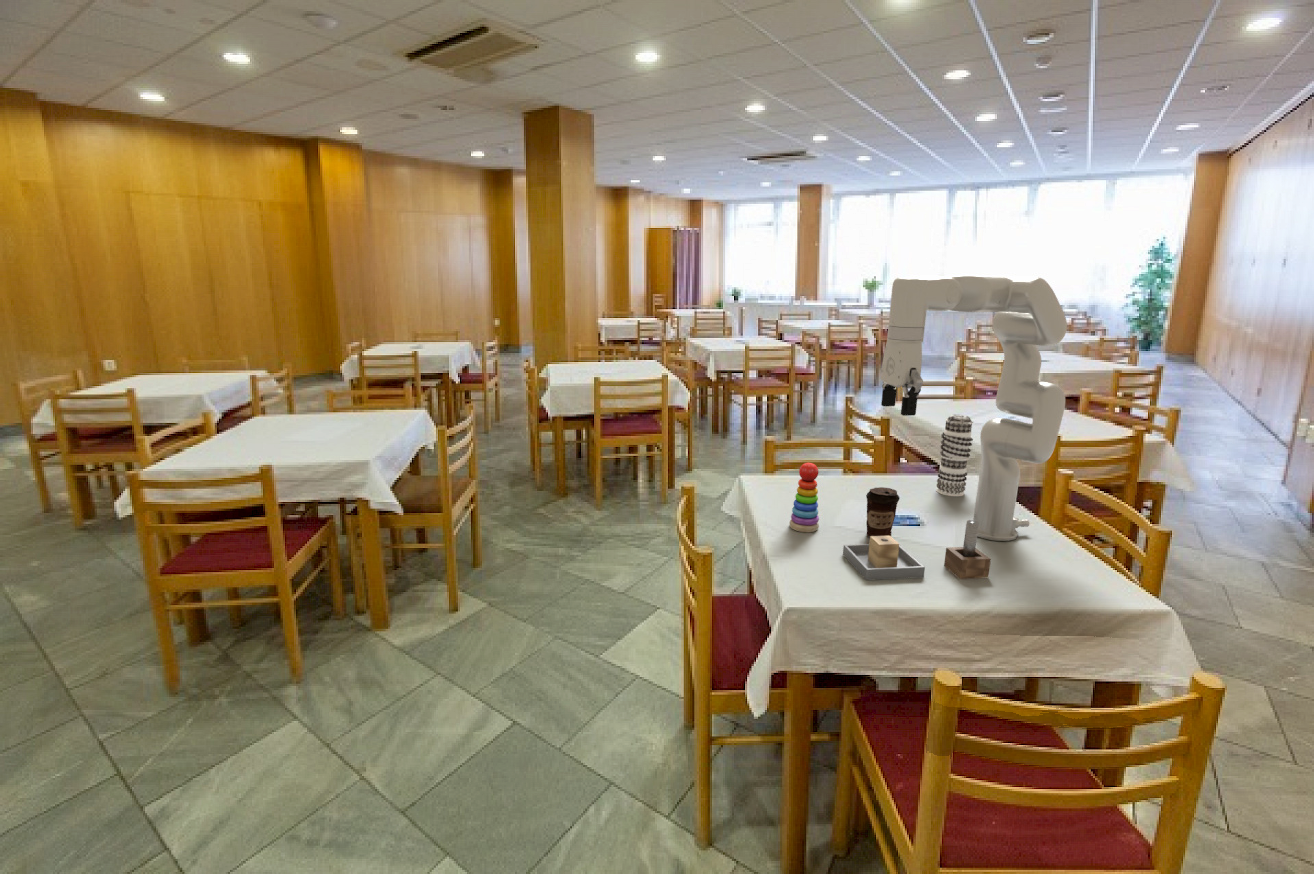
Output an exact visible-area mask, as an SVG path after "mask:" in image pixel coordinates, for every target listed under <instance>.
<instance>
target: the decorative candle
mask: <svg viewBox="0 0 1314 874" xmlns="http://www.w3.org/2000/svg"><path fill="white" fill-rule="evenodd" d="M944 420H945V428H944V430H943V432H942V433H941V439H942V440H941V441H940V443H941V445H940V449H941V450H940V457H941V461H940V462H941V463H940V464H939V469H938V474H937V479H936V490H935V491H936V492H937V493H938V494H940V495H943V496H947V497H948V496H949V497H963V496H964V495H965V491H966V486H967V482H966V481H967V476H968V472H967V471H968V469H967V468H968V466H967V465H968V464H967V463H968V460H970V457H971V454H970V453H971V452H972V450H971V449H970V448H969V447H971V446H973V443H972V441H973V440H974V439H973V438H972V432H973V431H972V428H973V424H974V421H972V419H971V417H969V416H968V415H964V414H952V415H949V416H948V417H947V418H945V419H944Z"/></svg>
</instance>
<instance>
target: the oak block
mask: <svg viewBox="0 0 1314 874" xmlns="http://www.w3.org/2000/svg"><path fill="white" fill-rule="evenodd" d="M868 544H869V553H868V560H869V561H870V562H871V563H872V564H873V565H874V566H875V567H876V568H889V567H897V561H898V552H899V545H900V543H899V542H898V541H897V540H895V539H894V538H893V537H892V535H891V536H870V538H869V543H868Z"/></svg>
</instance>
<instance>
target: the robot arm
mask: <svg viewBox="0 0 1314 874" xmlns="http://www.w3.org/2000/svg"><path fill="white" fill-rule="evenodd" d="M889 307H890V308H889V315H888V316H889V317H888V318H889V319H888V328H887V329H888V330H887V335H886V336H887V339H886V344H885V348H884V353H883V359H882V366H881V372H880V380H881V382H882V384H881V385H882V386H881V388H882V394H881V402H880V403H881V404H880V405H881V406H882V407H895V406H896V399H897V393H898V392H897V390H898V388H901V389H902V393H903V395H904V396H903V397H902V398H901V407H900V408H901V409H900V415H901V416H907V417H908V416H909V417H910V416H916V415H917V414H916V413H917V404H918V398H919V397H920V393H921V391H922V390H921V389H922V387H923V384H924V379H923V378H922V376H921V375H922V374H921V373H922V358H923V357H922V356H923V350H922V349H923V343H924V336H925V327H926V317H927V311H932V312H947V311H952V312H959V313H961V312H962V313H995V314H994V316H993V318H992V330H993V333H994V335H995V337H996V338H997V339H998V341H999V343H1000V345H1001V346H1000V347H1001V348H1002V351H1003V355H1004V356H1003V357H1004V358H1003V366H1002V370H1001V374H1000V379H999V382H998V383H999V384H998V386H997V392H996V397H995V406H996V408H997V409H998V410H999V411H1001V412H1002V413H1006V414H1009V415H1014V416H1018V417H1022V418H1027V419H1028V418H1029V419H1032V423H1028V422H1024V421H1020V420H1014V419H1012V418H1011V419H1010V418H1003V417H996V418H992V419H989V420H988V421H986V422H985V423H984V424H983V426H982V428H981V429H980V430H981V431H980V438H979V439H980V450H981V452H980V453H981V454H980V455H981V456H980V457H981V458H980V466H979V467H980V469H979V475H978V482H977V483H978V484H977V491H976V496H975V504H974V512H973V518H972V520H974V521H977V522H979V527H978V534H977V538H981V539H985V540H990V541H996V542H1007V541H1008V542H1010V541H1013V540H1015V539H1017V538H1018V531H1017V529H1018V528H1019V527H1020V528H1024V527H1025V528H1027V527H1029V526H1030V521H1029V520H1028V519H1019V517H1017V516H1015V517H1014V515H1015V509H1016V503H1017V497H1018V489H1019V483H1020V477H1021V471H1020V466H1019V463H1018V461H1017V460H1019V461H1023V462H1026V463H1032V464H1038V465H1039V464H1043V463H1045V462H1047V461H1048V460H1049V459H1050V458H1051V456H1052V455H1053V452H1054V450H1055V448H1056V444H1057V440H1058V436H1059V432H1060V427H1061V425H1062V420H1063V417H1064V413H1065V407H1066V395H1065V392H1064V390H1063V389H1062V388H1061V386H1059V385H1057V384H1054V383H1051V382H1047V381H1046V382H1045V381H1039V377H1040V371H1041V368H1042V356H1041V353H1040V350H1039V348H1038V346H1043V347H1044V346H1045V347H1051V346H1055V345H1057V344H1059V343H1060V342H1062V340H1063V339H1064V338H1065V336H1066V333H1067V328H1068V322H1067V318H1066V315H1065V312H1064V310H1063V308H1062V305H1061V304H1060V301H1059V300H1058V297H1057V296H1056V293H1055V292H1054V290H1053V288H1052V287H1051V285H1050V284H1049V283H1048V282H1047V281H1046V280H1045V279H1043V278H1042V277H1039V276H1016V275H1015V276H1014V275H1013V276H1012V275H1011V276H1009V275H1008V276H1007V275H981V274H980V275H979V274H971V275H969V274H965V275H962V274H961V275H952V276H951V275H949V276H946V275H945V276H942V275H941V276H940V275H939V276H938V275H909V276H904V277H903V276H902V277H901V276H900V277H897V278H895V279H894V280H893V282H892V288H891V297H890V306H889ZM896 388H897V389H896Z"/></svg>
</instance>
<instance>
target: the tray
mask: <svg viewBox="0 0 1314 874" xmlns="http://www.w3.org/2000/svg"><path fill="white" fill-rule="evenodd" d="M842 547H843V548H842V549H843V550H842V556H844V557H845V558H846V560H847V561H848V562H849V563H850V565H852V566H853V567H854V569H856V570H857V572H858V573H859V574H860V575H861V576H862V578H863V579H864V580H865V581H873V580H872V579H878V580H896V579H916V578H917V579H918V578H924V577H925V571H926V567H925V566H924V565H923V564H922V563H921V562H919V561H918V560H917V559H916V558H915V557H914V556H913V555H912V554H910V552H908V551H907V549H905V548H904V547H903V546H901V545H900V544H899V552H898V561H897V567H889V568H876V567H875V566H874V565H873V564H872V563H871V562H870V561H869V560H868V553H869V543H860V544H859V543H858V544H857V543H855V544H843V546H842Z"/></svg>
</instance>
